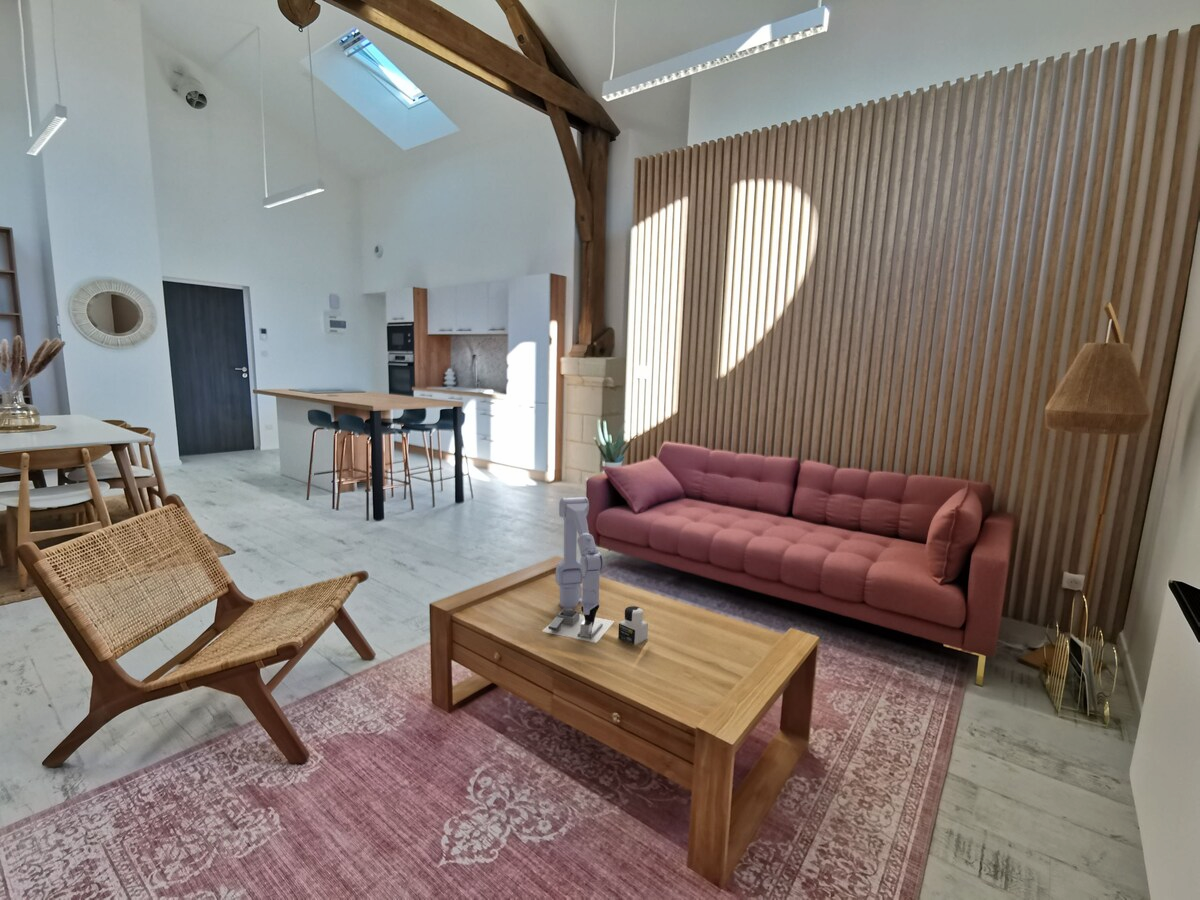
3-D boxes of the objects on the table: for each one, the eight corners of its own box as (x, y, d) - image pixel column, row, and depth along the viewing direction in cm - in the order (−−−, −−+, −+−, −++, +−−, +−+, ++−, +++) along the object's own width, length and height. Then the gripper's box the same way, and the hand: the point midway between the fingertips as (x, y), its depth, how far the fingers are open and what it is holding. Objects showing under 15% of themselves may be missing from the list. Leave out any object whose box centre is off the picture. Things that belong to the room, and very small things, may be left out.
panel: (563, 615, 217) (563, 603, 216) (614, 624, 210) (614, 613, 209) (541, 635, 200) (541, 623, 199) (596, 646, 193) (596, 634, 192)
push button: (565, 616, 211) (565, 606, 210) (575, 618, 209) (576, 608, 209) (560, 621, 207) (561, 610, 207) (571, 623, 206) (571, 612, 205)
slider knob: (583, 631, 199) (584, 620, 199) (591, 633, 198) (592, 622, 198) (580, 635, 197) (580, 623, 196) (588, 636, 196) (588, 625, 195)
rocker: (556, 619, 204) (555, 616, 204) (563, 620, 203) (563, 618, 203) (548, 628, 199) (548, 626, 199) (556, 630, 198) (556, 628, 198)
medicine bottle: (617, 642, 197) (618, 608, 195) (631, 635, 202) (632, 602, 200) (634, 649, 192) (635, 615, 190) (647, 642, 197) (649, 608, 195)
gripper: (583, 579, 206) (582, 616, 208) (574, 595, 192) (573, 634, 194) (603, 581, 205) (602, 618, 207) (595, 597, 191) (594, 636, 193)
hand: (589, 626), depth 200 cm, fingers closed
